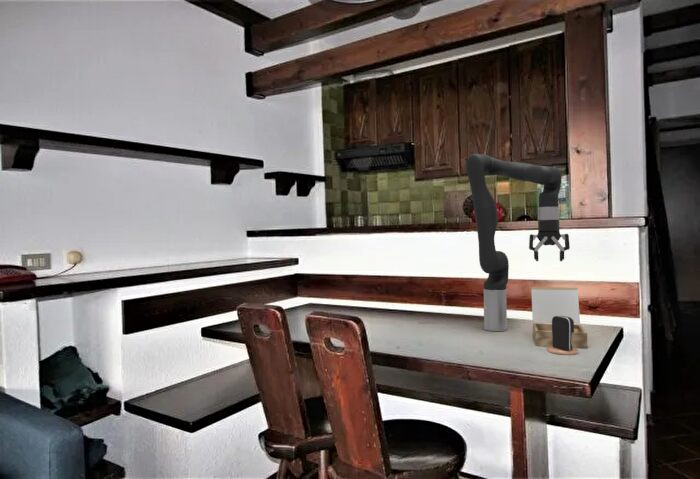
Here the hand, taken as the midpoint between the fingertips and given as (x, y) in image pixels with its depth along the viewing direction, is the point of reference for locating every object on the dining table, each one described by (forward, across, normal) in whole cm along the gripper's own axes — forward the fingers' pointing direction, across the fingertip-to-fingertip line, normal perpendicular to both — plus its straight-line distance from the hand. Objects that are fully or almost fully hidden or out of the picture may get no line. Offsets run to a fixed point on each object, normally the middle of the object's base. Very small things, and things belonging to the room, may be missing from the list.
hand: (549, 261), depth 185 cm
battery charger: (+30, +2, -18) cm, 35 cm away
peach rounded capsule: (+30, +8, -1) cm, 31 cm away
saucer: (+30, +2, -18) cm, 35 cm away
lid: (+18, +2, +4) cm, 18 cm away
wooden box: (+30, +2, -5) cm, 31 cm away
